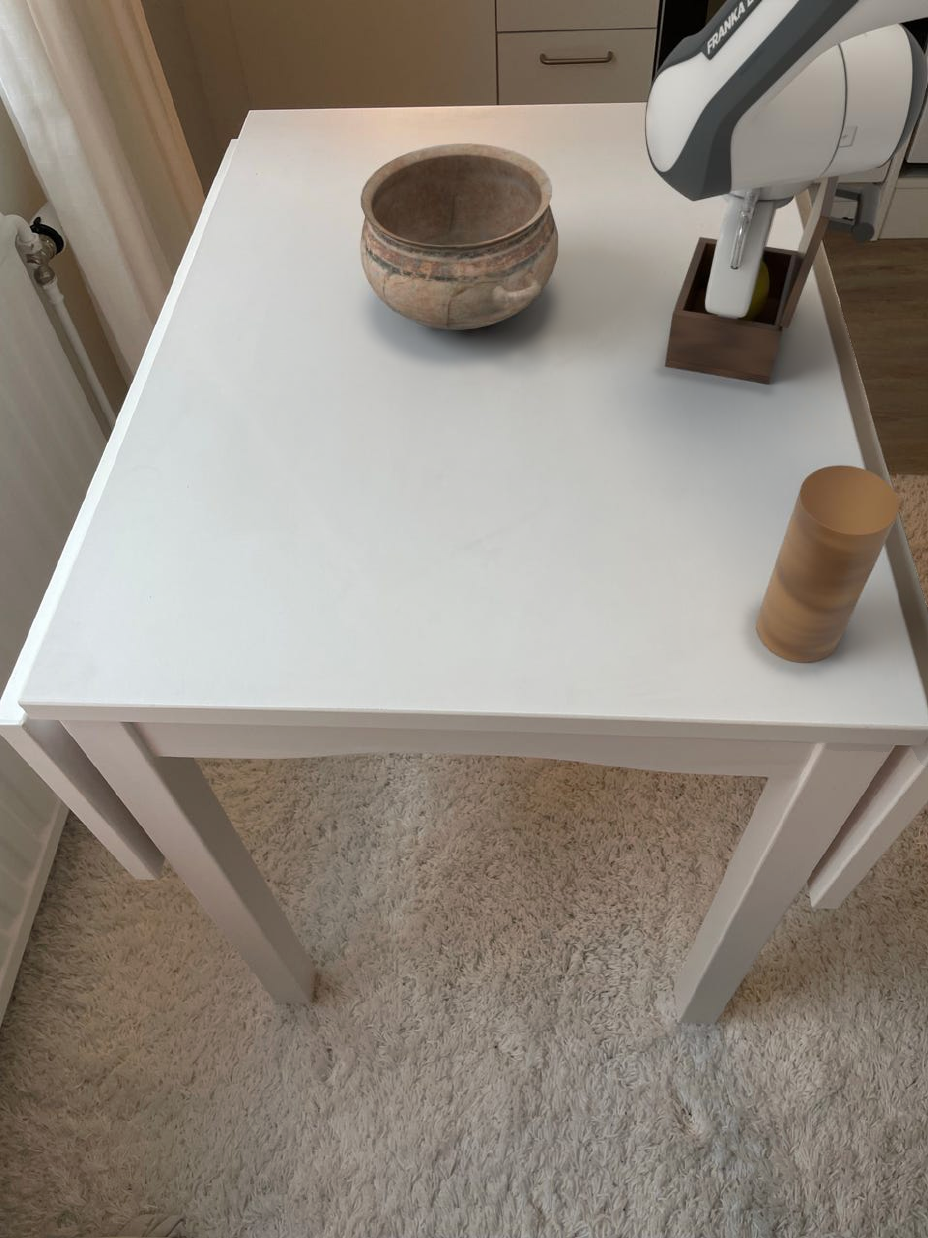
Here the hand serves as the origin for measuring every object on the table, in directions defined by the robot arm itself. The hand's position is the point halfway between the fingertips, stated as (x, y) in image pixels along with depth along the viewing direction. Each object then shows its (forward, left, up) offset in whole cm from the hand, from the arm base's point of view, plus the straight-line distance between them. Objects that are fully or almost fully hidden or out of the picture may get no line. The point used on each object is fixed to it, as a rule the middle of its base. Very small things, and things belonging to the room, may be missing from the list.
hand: (733, 297), depth 89 cm
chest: (0, 0, -4) cm, 4 cm away
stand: (-11, +34, -4) cm, 36 cm away
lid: (-5, 0, +8) cm, 9 cm away
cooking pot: (+26, +3, -4) cm, 27 cm away
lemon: (0, 0, -3) cm, 3 cm away
